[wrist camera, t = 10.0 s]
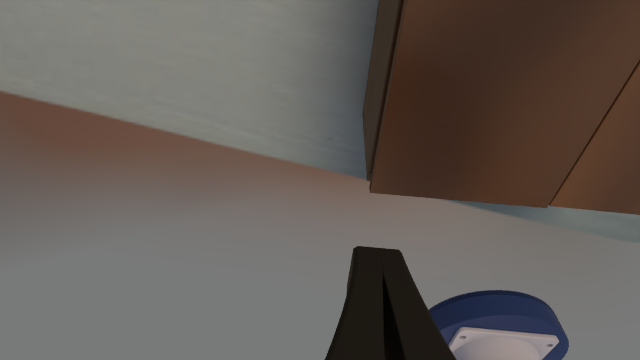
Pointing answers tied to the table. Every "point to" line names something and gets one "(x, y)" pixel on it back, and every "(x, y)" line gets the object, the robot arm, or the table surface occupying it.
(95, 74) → the table surface
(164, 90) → the table surface
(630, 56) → the wooden cabinet
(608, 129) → the box lid
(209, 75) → the table surface
